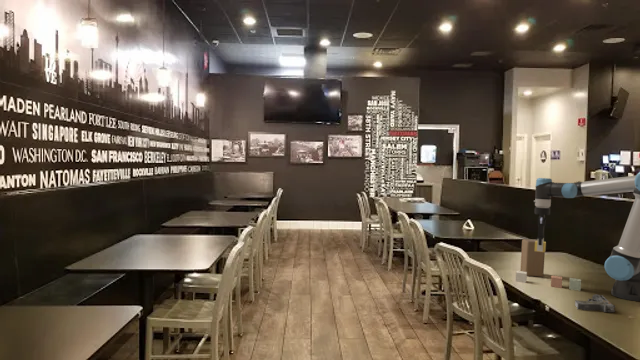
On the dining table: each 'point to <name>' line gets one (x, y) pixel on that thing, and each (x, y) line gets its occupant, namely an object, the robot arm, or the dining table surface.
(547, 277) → the dining table surface
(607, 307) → the handgun
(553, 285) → the terracotta cube
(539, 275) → the wooden block
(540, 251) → the mustard cube
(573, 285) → the sage cube
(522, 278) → the cream cube
